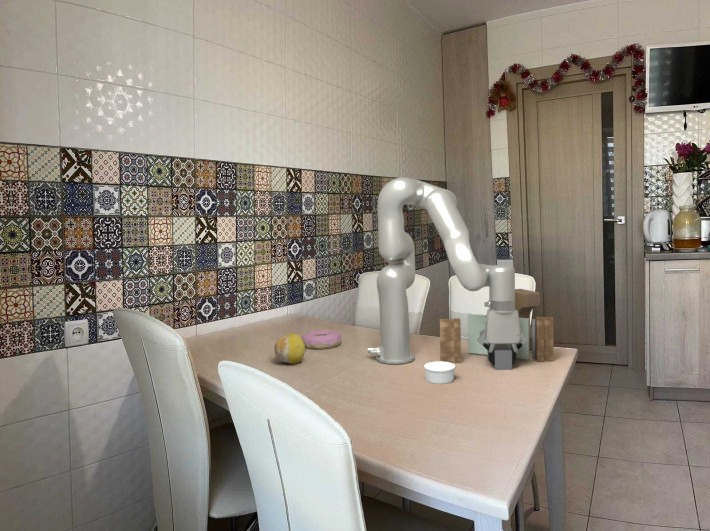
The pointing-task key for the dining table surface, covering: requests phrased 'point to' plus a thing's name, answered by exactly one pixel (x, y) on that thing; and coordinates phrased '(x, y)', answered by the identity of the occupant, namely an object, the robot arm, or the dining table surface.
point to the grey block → (502, 357)
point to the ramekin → (439, 372)
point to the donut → (321, 339)
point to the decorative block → (526, 306)
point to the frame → (452, 339)
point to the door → (478, 327)
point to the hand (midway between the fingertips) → (502, 363)
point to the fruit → (290, 348)
